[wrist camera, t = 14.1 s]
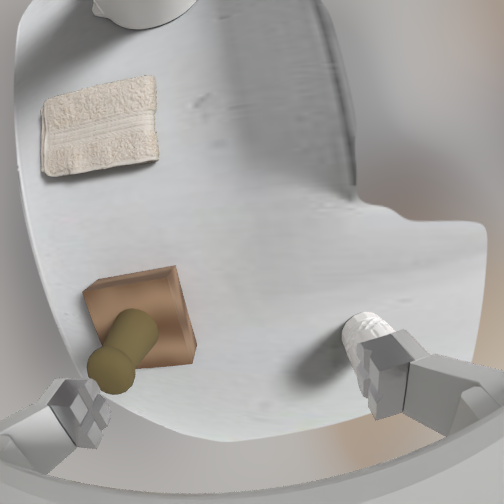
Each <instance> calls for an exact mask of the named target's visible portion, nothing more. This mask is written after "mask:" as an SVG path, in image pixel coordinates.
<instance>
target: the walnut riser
mask: <svg viewBox="0 0 504 504" xmlns="http://www.w3.org/2000/svg"><path fill="white" fill-rule="evenodd" d="M83 295H84V298H85V301H86V304H87V307H88V310H89V313H90V316H91V318H92V321H93V324H94V326H95V329H96V332H97V334H98V337H99V339H100V342H101V344H102V347H103V344H104V342H105V340H106V338H107V336H108V334H109V332H110V329H111V327H112V325H113V323H114V321H115V319H116V317H117V316H118V314H119V313H120V312H122V311H123V310H125V309H131V308H133V309H139V310H141V311H144V312H146V313H147V314H148V315H149V316H151V317H152V318H153V320H154V321H155V323H156V324H157V327H158V330H159V337H158V340H157V342H156V344H155V345H154V346H153V347H152V349H151V350H150V351H149V352H148V354H147V355H146V356H145V357H144V359H143V360H142V361H141V362H140V364H139V365H138V366H137V367H136V369H141V368H154V367H166V366H176V365H186V364H192V363H193V359H194V355H195V351H196V347H197V342H196V339H195V336H194V332H193V329H192V325H191V322H190V318H189V315H188V311H187V308H186V304H185V300H184V296H183V293H182V289H181V285H180V281H179V277H178V273H177V269H176V265H175V266H170V267H164V268H158V269H153V270H147V271H142V272H136V273H131V274H125V275H120V276H114V277H108V278H103V279H98V280H97V281H95V282H94V283H93V284H92V285H90V286H89V287H88V288H87V289H85V290H84V291H83Z"/></svg>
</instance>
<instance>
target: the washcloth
mask: <svg viewBox="0 0 504 504" xmlns="http://www.w3.org/2000/svg"><path fill="white" fill-rule="evenodd" d="M156 92H157V91H156V80H155V77H154V76H147V75H144V76H143V77H142V76H141V77H135V78H131V79H124V80H122V81H120V80H118V81H115V82H111V83H106V84H103V85H96V86H93V87H90V88H86V89H81V90H78V91H75V92H71V93H68V94H63V95H60V96H59V95H58V96H56V97H53V98H50V99H49V98H48V99H47V100H46V101H45V102H44V106H43V107H42V109H41V111H40V114H41V117H42V131H41V132H42V133H41V164H42V168H41V171H42V172H44V173H45V174H46V176H51V177H59V176H63V175H72V174H79V173H84V172H89V171H94V170H100V169H107V168H113V167H119V166H124V165H134V164H143V163H149V162H155V161H158V160H159V149H158V139H157V135H156V133H157V132H156V131H155V112H156V105H157V103H156Z"/></svg>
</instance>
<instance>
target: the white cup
mask: <svg viewBox="0 0 504 504" xmlns="http://www.w3.org/2000/svg"><path fill="white" fill-rule="evenodd" d="M393 332H396V331H395V330H394V329H393V328H392V327H391V326H389V325H388V324H387V323H386V322H385V321H383V320H382V319H381V318H380V317H379V316H377V315H376V314H374V313H372V312H361V313H359V314H357V315H354V316H353V317H352V318H351V319H349V320H348V321H347V322H346V324H345V326H344V328H343V330H342V343H343V345H344V347H345V349H346V353H347V356H348V358H349V360H350V363H351V365H352V367H353V370H354V372H355V374H356V376H357V366H358V365H359V363H360V360H359V359H358V357H357V343H361V342H364V341H368V340H371V339H375V338H378V337H382V336H385V335H388V334H390V333H393Z"/></svg>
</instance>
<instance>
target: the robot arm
mask: <svg viewBox="0 0 504 504" xmlns="http://www.w3.org/2000/svg"><path fill="white" fill-rule="evenodd" d="M93 1H94V3H93V6H92V12H93V14H94V15H95V16H98V17H106V18H109V19H111V20H112V21H113V22H114V23H116V24H117V25H119V26H121V27H124V28H128V29H146V28H152V27H156V26H159V25H162V24H165V23H167V22H169V21H171V20H173V19H175V18H177V17H179V16H180V15H182V14H183V13H184V12H186V11H187V10H188V9H189V8H190V7H191V6H192V5H193V4H194V3H195V2H196V0H93ZM357 357H358V359H359V360H360V363H359V365H358V366H357V379H358V385H359V388H360V391H361V393H362V395H363V396H364V397H366V398H368V407H369V409H370V411H371V413H372V415H373V416H374V418H375V420H379V419H382V418H386V417H389V416H392V415H396V414H399V413H402V412H403V414H405V415H407V416H408V417H410V418H412V419H414V420H416V421H418V422H419V423H422V424H423V425H425V426H427V427H429V428H431V429H433V430H434V431H436V432H438V433H440V434H442V435H444V436H446V438H443V439H441V440H439V441H437V442H434V443H432V444H430V445H427V446H425V447H423V448H420V449H418V450H415V451H413V452H411V453H408V454H405V455H402V456H400V457H397V458H394V459H391V460H389V461H386V462H383V463H380V464H377V465H374V466H370V467H367V468H364V469H361V470H357V471H353V472H350V473H346V474H342V475H338V476H334V477H330V478H325V479H321V480H316V481H311V482H307V483H301V484H296V485H290V486H283V487H277V488H270V489H261V490H253V491H241V492H228V493H203V494H183V493H181V494H180V493H155V492H142V491H133V490H123V489H115V488H109V487H102V486H96V485H90V484H85V483H80V482H75V481H70V480H66V479H61V478H58V477H54V476H50V475H47V474H48V473H49V472H50V471H51V470H52V469H54V468H55V467H56V466H57V465H58V464H59V463H60V462H61V461H63V460H64V459H65V458H66V457H67V456H68V455H70V454H71V453H72V452H73V451H74V450H75V449H76V448H77V447H81V448H92V449H97V448H98V446H99V443H100V441H101V439H102V437H103V433H102V430H103V429H104V428H106V427H107V426H108V424H109V421H110V408H109V405H108V403H107V401H106V400H105V399H104V398H103V397H102V396H101V395H99V393H100V388H99V386H98V384H97V382H96V381H95V380H93V379H79V378H57V379H55V380H54V381H53V382H52V383H51V385H50V386H49V387H48V388H47V390H46V391H45V392H44V393H43V395H42V396H41V397H40V398H39V400H38V401H37V402H36V404H31V405H29V406H27V407H25V408H24V409H22V410H20V411H18V412H16V413H14V414H12V415H11V416H9V417H7V418H5V419H3V420H1V421H0V504H504V372H503V371H502V370H499V369H495V368H491V367H486V366H482V365H477V364H474V363H470V362H466V361H462V360H458V359H454V358H450V357H446V356H442V355H439V354H432V355H430V354H429V353H428V352H427V351H426V350H425V349H424V348H423V347H422V346H421V344H420V343H419V342H418V341H417V340H416V339H415V338H414V337H413V336H412V335H411V334H410V333H409V332H408V331H407V330H404V329H402V330H399V331H396V332H393V333H390V334H388V335H385V336H382V337H378V338H375V339H371V340H368V341H364V342H361V343H357Z"/></svg>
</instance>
